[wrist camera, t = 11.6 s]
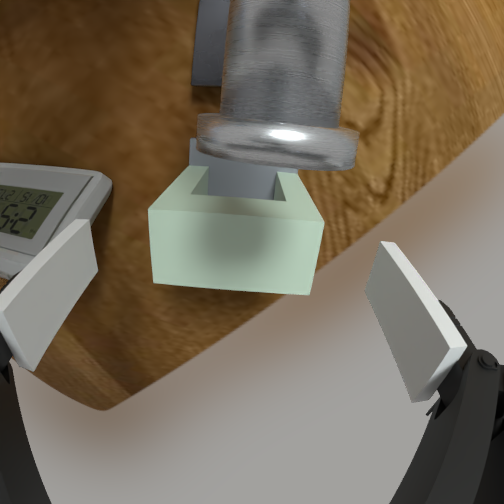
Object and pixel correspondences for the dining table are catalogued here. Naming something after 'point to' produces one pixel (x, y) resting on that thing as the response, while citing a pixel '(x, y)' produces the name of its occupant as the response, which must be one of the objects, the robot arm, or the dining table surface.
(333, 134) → the stand
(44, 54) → the dining table surface
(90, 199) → the digital clock
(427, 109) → the dining table surface
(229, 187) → the coaster
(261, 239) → the bracket
